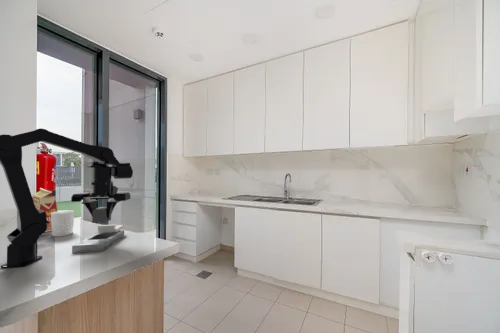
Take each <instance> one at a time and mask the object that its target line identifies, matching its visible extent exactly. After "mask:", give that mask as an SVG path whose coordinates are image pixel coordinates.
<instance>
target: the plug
mask: <svg viewBox="0 0 500 333" xmlns="http://www.w3.org/2000/svg"><path fill="white" fill-rule="evenodd" d="M91 217H92V224H98V223H99V224H100V223H107V222H109V221H112V215H111V216H110V218H109V219H107V206H100V207H97V208H96V209H94V210H93V216H92V215H91Z"/></svg>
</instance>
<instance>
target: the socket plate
mask: <svg viewBox="0 0 500 333" xmlns="http://www.w3.org/2000/svg"><path fill="white" fill-rule="evenodd" d="M98 232H99V231H98V230H97V232H95V233H94V234H93V233H92V234H91V235H90V236H87V237H86V238H83V239H82V240H80V241H79V242H76V243H75V244H73V245H71V253H72V254H75V253H95V252H105V251H106V250H108V249H109V248H111V247H112V246H113V245H114V244H115V243H117V242H118V241H120V239H122V238H123V237H124V236H125V230H124V229H121V230H119V231H117V232H108V233H98Z"/></svg>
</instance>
